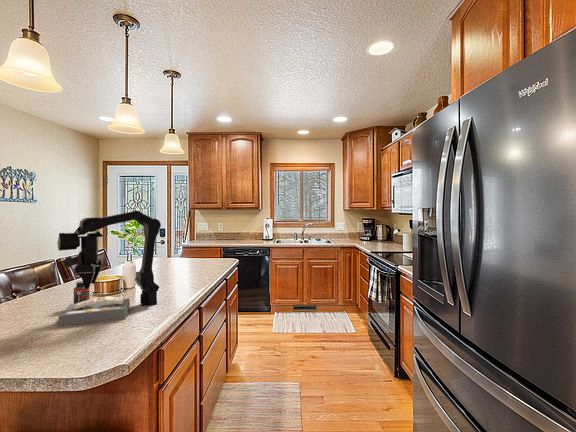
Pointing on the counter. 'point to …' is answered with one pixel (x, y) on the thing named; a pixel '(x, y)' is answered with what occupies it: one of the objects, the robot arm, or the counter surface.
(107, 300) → the block
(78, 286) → the supplement bottle
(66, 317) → the console
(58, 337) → the counter surface
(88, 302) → the panel
